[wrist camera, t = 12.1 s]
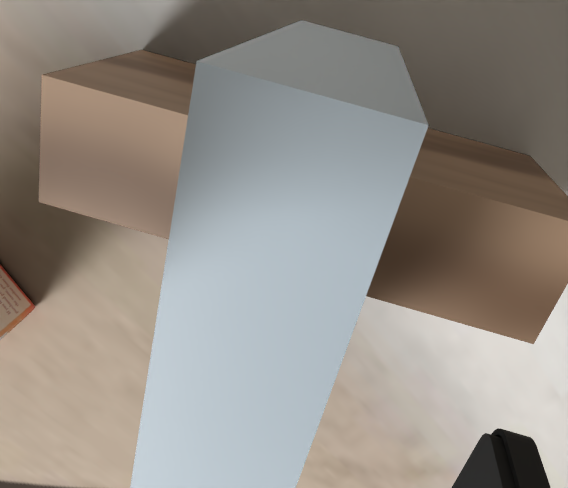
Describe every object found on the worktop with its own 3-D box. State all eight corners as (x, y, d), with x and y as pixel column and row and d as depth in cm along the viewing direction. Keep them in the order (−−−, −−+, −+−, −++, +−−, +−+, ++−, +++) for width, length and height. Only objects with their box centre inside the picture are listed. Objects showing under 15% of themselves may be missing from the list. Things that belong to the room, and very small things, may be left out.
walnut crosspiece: (141, 49, 27) (41, 74, 19) (530, 156, 26) (598, 229, 18) (131, 143, 29) (38, 202, 21) (489, 244, 28) (533, 344, 20)
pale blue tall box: (301, 20, 21) (196, 60, 9) (398, 46, 21) (428, 125, 9) (242, 271, 27) (125, 516, 14) (319, 293, 27) (268, 560, 14)
